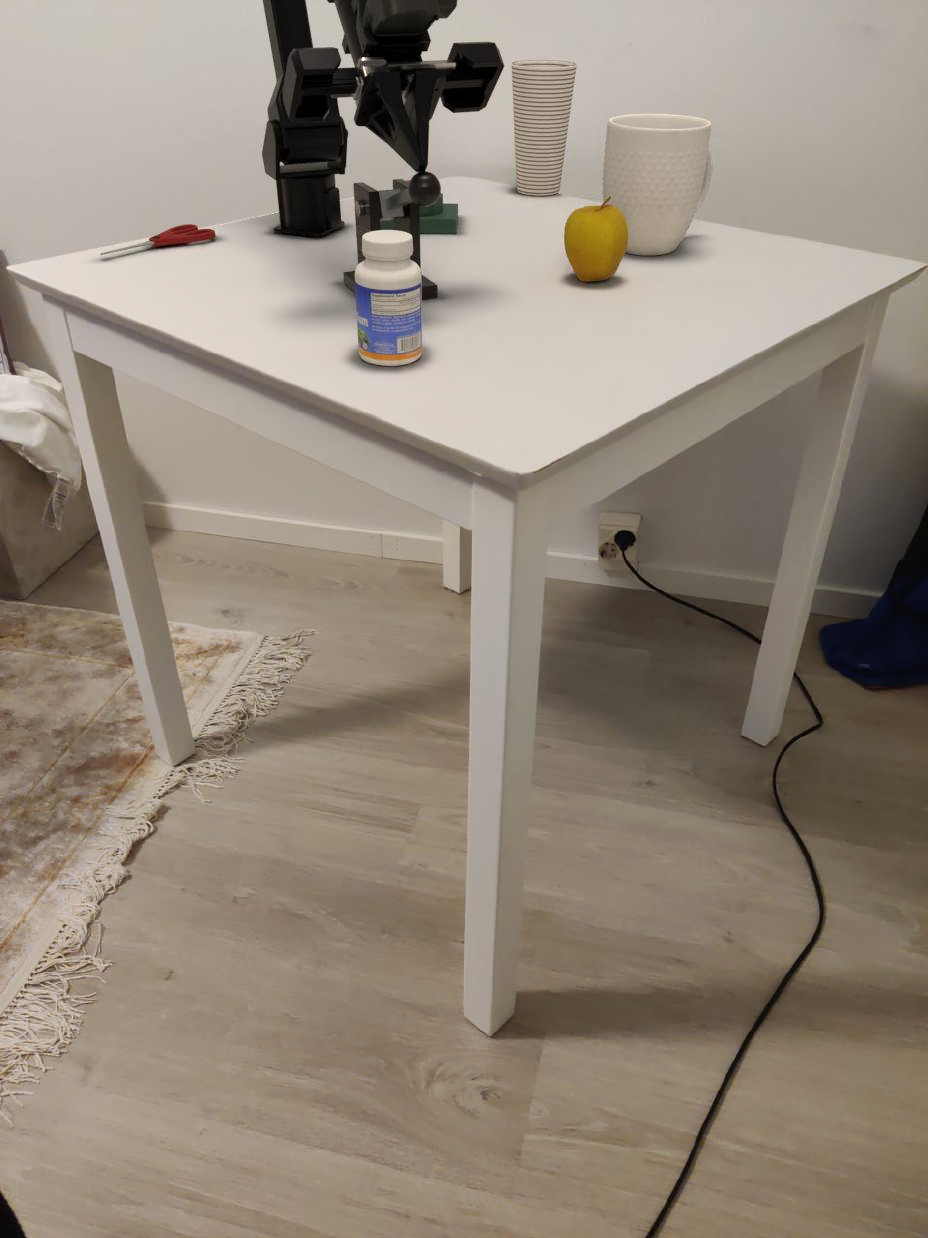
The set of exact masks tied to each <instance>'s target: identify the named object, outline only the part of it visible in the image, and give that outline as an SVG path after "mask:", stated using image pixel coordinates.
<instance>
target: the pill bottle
mask: <svg viewBox="0 0 928 1238" xmlns="http://www.w3.org/2000/svg"><path fill="white" fill-rule="evenodd" d="M362 252H363V255H364V256H365V257H366V260H364V261H362V262H361V263H360V264H358V263H357V265H356V267H355V270H354V271H355V292H356V293H355V292H354V293H355V309H356V326H357V327H356V329H357V346H358V354H359V356H360V358H361V360H363V361H365V362H366V363H369V364H372V365H376V366H385V367H395V366H397V367H399V366H404V365H409V364H412V363H413V362H416V361H417V360H418V359H419V358H420V357H421V356H422V354H423V322H422V321H423V318H422V316H423V315H422V313H423V309H422V308H423V307H422V305H423V303H422V301H423V299H422V278H421V274H422V268H421V269H420V267H419V266H418V264H416V263H415V262H414V261H412V260H410V256H412V254H413V238H412V235H411V234H409V233H407V232H403V231H397V230H378V231H372V232H368V233H365V234H364V235H363V236H362Z"/></svg>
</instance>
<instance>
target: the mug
mask: <svg viewBox="0 0 928 1238" xmlns="http://www.w3.org/2000/svg"><path fill="white" fill-rule="evenodd" d="M606 126H607V127H606V135H605V136H606V137H605V143H604V146H605V147H604V156H603V164H602V165H603V170H602V172H603V173H602V174H603V175H602V200H603V203H604V202H605V201H606V200H607V199H608V198H609V197H610V196H611V199H610V200H609V201H608V202H606V203H605V205H613V206H615V207H616V208H618V209H619V210H620V211H621V212H622V213H623V215H624V217H625V220H626V223H627V227H628V245H627V248H626V251H625V254H630V255H634V256H648V257H649V256H652V257H653V256H663V255H666V254H670V253H673V252H675V250H676V249H677V248H678V246H679V245H680V243H682V240H683V239H684V237H685V236H686V235H687V233H688V230H689V228H690V226H691V223H692V222H693V218H694V217H695V214H696V213H697V212H698V211H699V210H700V208H701V206H702V205H703V203H704V202H705V199H706V197H707V194H708V192H709V189H710V186H711V182H712V176H713V158H712V153H711V150H710V140H711V139H710V138H711V131H712V122H711V121H710V120H708V119H706V118H702V117H698V116H692V115H685V114H684V115H682V114H672V113H631V114H621V115H617V116H612V117H610V118H608V120H607V125H606Z"/></svg>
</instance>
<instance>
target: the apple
mask: <svg viewBox="0 0 928 1238" xmlns="http://www.w3.org/2000/svg"><path fill="white" fill-rule="evenodd" d="M610 199H611V196H610V197H609V198H608V199H607V200H606V201H605V202H604V201H603V203H602V204H600V205H586V206H583V207H579V208H577V209H574V210H573V211H572V212H571V213H570V214H569V216H568V217H567V219H566V222H565V225H564V231H563V232H564V233H563V240H564V241H563V243H564V251H565V255H566V258H567V260H568V262H569V264H570V266H571V268H572V270H573V272H574V274H575V276H576V277H577V279H579V280H580V281H582V282H596V281H601V282H602V281H605V280H607V279H609V278H611V276H613V275H614V274H615V273H616V272H617V271H618V268H619V267H620V264H621V263H622V260H623V258H624V256H625V254H626V253H625V251H626V248H627V245H628V227H627V223H626V220H625V217H624V215H623V213H622V212H621V211H620V210H619V209H618V208H616V207H615V206H613V205H605V203H606V202H608V201H609V200H610Z"/></svg>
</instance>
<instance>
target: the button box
mask: <svg viewBox="0 0 928 1238" xmlns="http://www.w3.org/2000/svg"><path fill="white" fill-rule="evenodd" d="M419 207H420V234H436V235H437V234H442V235H443V234H445V235H446V234H447V235H455V234H457V229H458V221H459V203H444V194H443V192H441V193H440V197H439V199H438V200H437V201H436V203H434V204H433V205H431V206H428V207H422V206H419ZM380 229H381V230H394V220H387V221H380Z"/></svg>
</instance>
